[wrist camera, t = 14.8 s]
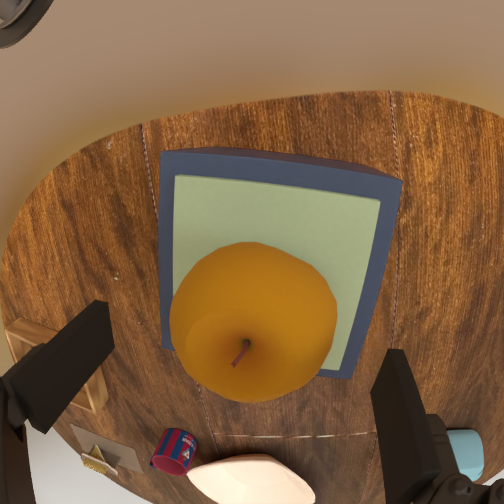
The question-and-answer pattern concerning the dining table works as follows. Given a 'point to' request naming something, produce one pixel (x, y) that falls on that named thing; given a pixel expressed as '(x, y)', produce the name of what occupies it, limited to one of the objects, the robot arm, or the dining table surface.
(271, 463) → the bowl
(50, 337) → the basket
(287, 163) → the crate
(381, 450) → the robot arm
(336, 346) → the mat
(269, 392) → the apple
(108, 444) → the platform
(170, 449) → the mug
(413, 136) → the dining table surface
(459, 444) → the teapot
